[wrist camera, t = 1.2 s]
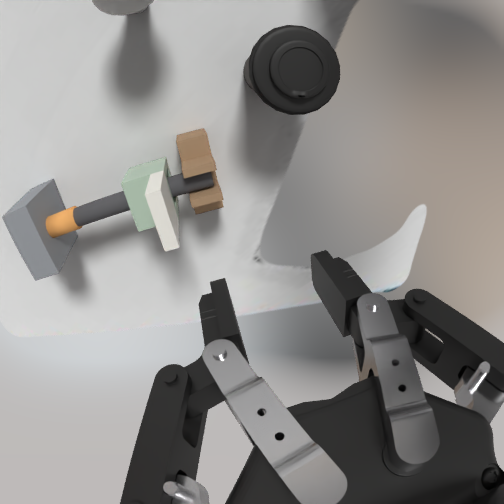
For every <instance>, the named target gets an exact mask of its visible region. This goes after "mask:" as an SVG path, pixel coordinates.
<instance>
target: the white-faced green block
mask: <svg viewBox="0 0 504 504" xmlns="http://www.w3.org/2000/svg"><path fill="white" fill-rule="evenodd" d="M167 177H171V173H170V170H169V166H168V163H167V159H166V157H164V158H161V159H157V160H154V161H151V162H147V163H144V164H141V165H138V166H135V167H132V168H129V170H128V172H127V173H126V175H125V177H124V179H123V181H122V183H121V185H122V188H123V191H124V194H125V196H126V199H127V202H128V205H129V208H130V210H131V213H132V216H133V218H134V221H135V224H136V226H137V229H138V231H139V232H140V231H143V230H146V229H150V228H153V227H156V228H157V231H158V234H159V237H160V239H161V242H162V245H163V248H164V250H165V252H166V251H169V250H173V249H176V248H179V215H178V198H177V196H175V197H172V194H171V190H170V187H169V184H168V180H167Z"/></svg>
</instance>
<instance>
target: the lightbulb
mask: <svg viewBox="0 0 504 504" xmlns="http://www.w3.org/2000/svg"><path fill="white" fill-rule="evenodd" d="M153 1H154V0H92V2H93V3H94V5H95V6H96V7H97V8H98V9H99V10H101V11H103V12H105V13H107V14H111V15H128V14H132V13H133V14H137V13H141V12H143V11H144V10H145V9H146V8H147V7H148V5H149V4H151V3H152V2H153Z"/></svg>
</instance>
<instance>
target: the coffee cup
mask: <svg viewBox="0 0 504 504" xmlns="http://www.w3.org/2000/svg"><path fill="white" fill-rule="evenodd" d="M244 77H245V80H246V82H247V84H248V85H249V86H250V87H251V88H252V89H253V90H254V91H255V92H256V93H257V94H258V95H259V97H260V98H261V99H262V100H263V102H264V103H266V104H267V105H269V106H270V107H272V108H273V109H275V110H277V111H280V112H283V113H287V114H290V115H295V114H307V113H310V112H313V111H316V110H318V109H320V108H321V107H322V106H324V105H325V104H326V103H328V102H329V100H330V99H331V97H332V96H333V95H334V93H335V92H336V89H337V86H338V83H339V80H340V65H339V61H338V58H337V55H336V52H335V51H334V49H333V48H332V46H331V45H330V43H329V42H328V41H327V40H326V39H325V38H324V37H322V36H321V35H320V34H319V33H317V32H316V31H313V30H311V29H308V28H306V27H303V26H294V25H286V26H282V27H278V28H274V29H272V30H271V31H269V32H268V33H266V34H264V35H263V36H262V37H261V38H260V39H259V40H258V42H257V43H256V44H255V46H254V47H253V49H252V52H251V55H250V57H249V58H248V59H247V61H246V62H245V66H244Z"/></svg>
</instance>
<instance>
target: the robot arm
mask: <svg viewBox="0 0 504 504" xmlns="http://www.w3.org/2000/svg"><path fill="white" fill-rule="evenodd" d="M311 268H312V281H313V285H314V288H315V290H316V292H317V294H318V295H319V297H320V299H321V300H322V302H323V304H324V305H325V307H326V309H327V310H328V312H329V314H330V315H331V317H332V319H333V320H334V322H335V324H336V325H337V327H338V329H339V330H340V332H341V334H342V335H343V337H345V336H348V335H351V336H352V337H353V349H354V354H355V359H356V364H357V370H358V375H359V382H357V383H355V384H353V385H351V386H350V387H348V388H347V389H345V390H344V391H343V392H341V393H340V394H338V395H337V396H335V397H334V398H332V399H328V400H320V401H312V402H303V403H300V404H297V405H294V406H291V407H288V408H286V407H285V406H284V405H283V403H282V402H281V401H280V400H279V399H278V397H277V396H276V394H275V393H274V392H273V391H272V389H271V388H270V387H269V385H268V384H267V383H266V381H265V380H264V379H263V378H262V377H258V376H257V375H256V373H255V372H254V371H253V369H252V368H251V367H250V365H249V362H248V358H247V355H246V351H245V348H244V344H243V340H242V337H241V333H240V330H239V326H238V323H237V319H236V315H235V311H234V308H233V304H232V301H231V297H230V294H229V290H228V287H227V283H226V280H225V278H223V279H219V280H216V281H212V282H210V285H211V290H212V293H209V294H206V295H202V297H201V299H200V302H199V309H200V316H201V323H202V330H203V337H204V343H205V348H204V350H203V353H202V355H201V357H200V358H199V359H198V360H196V361H195V362H193V363H191V364H190V365H188V366H186V367H182V366H181V365H177V364H171V365H167V366H165V367H163V368H162V369H161V370H160V371H159V372H158V373H157V374H156V377H155V379H154V383H153V386H152V389H151V392H150V396H149V399H148V402H147V406H146V409H145V413H144V416H143V419H142V423H141V426H140V429H139V433H138V437H137V440H136V444H135V448H134V451H133V455H132V458H131V462H130V466H129V470H128V474H127V478H126V482H125V486H124V490H123V494H122V498H121V502H120V504H209V495H208V492H207V490H206V489H205V487H203V486H202V485H201V484H199V483H198V482H196V475H197V469H198V463H199V457H200V452H201V445H202V440H203V434H204V429H205V423H206V418H207V412H208V409H210V408H212V407H214V406H215V405H217V404H219V403H221V402H222V401H224V400H225V402H226V404H227V405H228V407H229V408H230V410H231V412H232V413H233V415H234V416H235V418H236V420H237V421H238V422H239V424H240V426H241V427H242V429H243V431H244V432H245V434H246V435H247V437H248V439H249V440H250V442H251V443H252V445H253V446H254V447H253V449H252V451H251V454H250V456H249V458H248V460H247V462H246V464H245V466H244V468H243V470H242V472H241V474H240V476H239V478H238V480H237V482H236V484H235V486H234V488H233V490H232V492H231V493H230V495H229V497H228V499H227V501H226V503H225V504H504V471H503V470H502V469H501V468H500V467H499V466H498V464H497V461H496V457H495V453H494V445H493V433H492V428H491V426H490V423H491V421H492V420H493V418H494V416H495V415H496V413H497V412H498V410H499V408H500V407H501V405H502V403H503V402H504V343H503V342H502V341H500V340H499V339H497V338H496V337H494V336H493V335H492V334H490V333H489V332H487V331H486V330H484V329H483V328H482V327H480V326H479V325H477V324H476V323H474V322H473V321H471V320H470V319H468V318H467V317H465V316H464V315H462V314H461V313H459V312H458V311H456V310H455V309H453V308H452V307H450V306H449V305H447V304H446V303H444V302H442V301H441V300H439V299H438V298H436V297H435V296H433V295H432V294H430V293H429V292H427V291H425V290H422V289H413V290H410V291H409V292H407V294H406V295H405V299H401V300H386V298H385V297H383V296H382V295H380V294H376V293H372V292H371V291H370V289H369V288H368V287H367V286H366V284H365V283H364V282H363V281H362V279H361V278H360V277H359V276H358V275H357V273H356V272H355V271H354V270H353V269H352V267H351V266H350V265H349V264H348V262H346V261H345V260H343V259H341V258H339V257H338V258H334V259H333V258H332V256H331V255H330V254H329V253H328V251H326V250H325V251H321V252H318V253H314V254H312V255H311ZM425 328H426V329H428V330H429V331H430V332H432V333H433V334H434V335H436V336H437V337H439V338H440V339H441V340H442V341H443V343H444V344H443V343H442V342H441V341H439V340H438V339H437V338H435V337H434V336H432V335H431V334H430V333H428V332H427V331H425ZM414 359H415V360H416V361H418V362H419V363H420V364H422V365H423V366H424V367H426V368H427V369H428V370H429V371H430V372H432V373H433V374H434V375H435V376H437V377H438V378H439V379H441V380H442V381H443V382H444V383H446V384H447V385H448V386H449V387H451V388H452V389H453V390H454V394H455V397H456V403H457V404H455V403H452V402H450V401H447V400H444V399H442V398H439V397H437V396H434V395H431V394H429V393H426V392H424V391H423V388H422V384H421V381H420V377H419V374H418V371H417V368H416V364H415V361H414Z"/></svg>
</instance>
